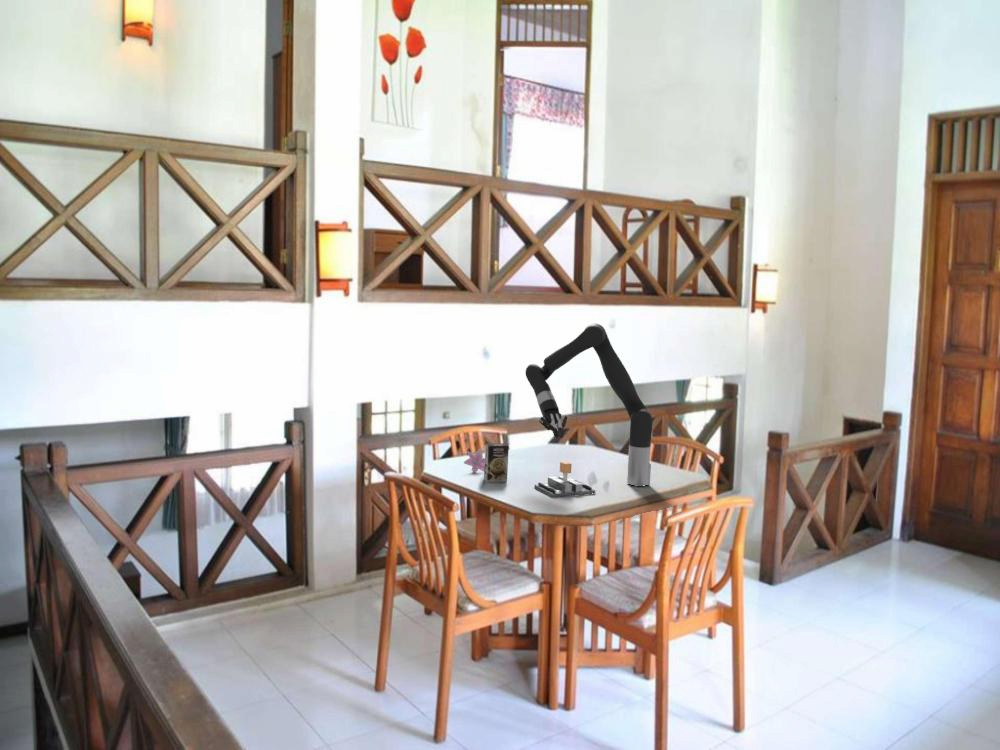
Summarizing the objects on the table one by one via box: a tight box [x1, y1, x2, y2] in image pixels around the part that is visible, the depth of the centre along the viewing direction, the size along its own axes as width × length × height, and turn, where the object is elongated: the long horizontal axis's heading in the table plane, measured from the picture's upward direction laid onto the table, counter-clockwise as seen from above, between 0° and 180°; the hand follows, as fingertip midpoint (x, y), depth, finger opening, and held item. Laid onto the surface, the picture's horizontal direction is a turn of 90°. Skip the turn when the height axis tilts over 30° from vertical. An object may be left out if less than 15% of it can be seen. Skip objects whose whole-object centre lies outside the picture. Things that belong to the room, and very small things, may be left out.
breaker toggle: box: [559, 461, 572, 482], centre depth 344 cm, size 3×4×10 cm
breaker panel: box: [533, 475, 596, 498], centre depth 344 cm, size 20×16×4 cm
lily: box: [463, 448, 485, 473], centre depth 374 cm, size 12×12×10 cm
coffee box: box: [483, 442, 509, 484], centre depth 357 cm, size 9×6×16 cm
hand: (559, 436), depth 348 cm, fingers closed
